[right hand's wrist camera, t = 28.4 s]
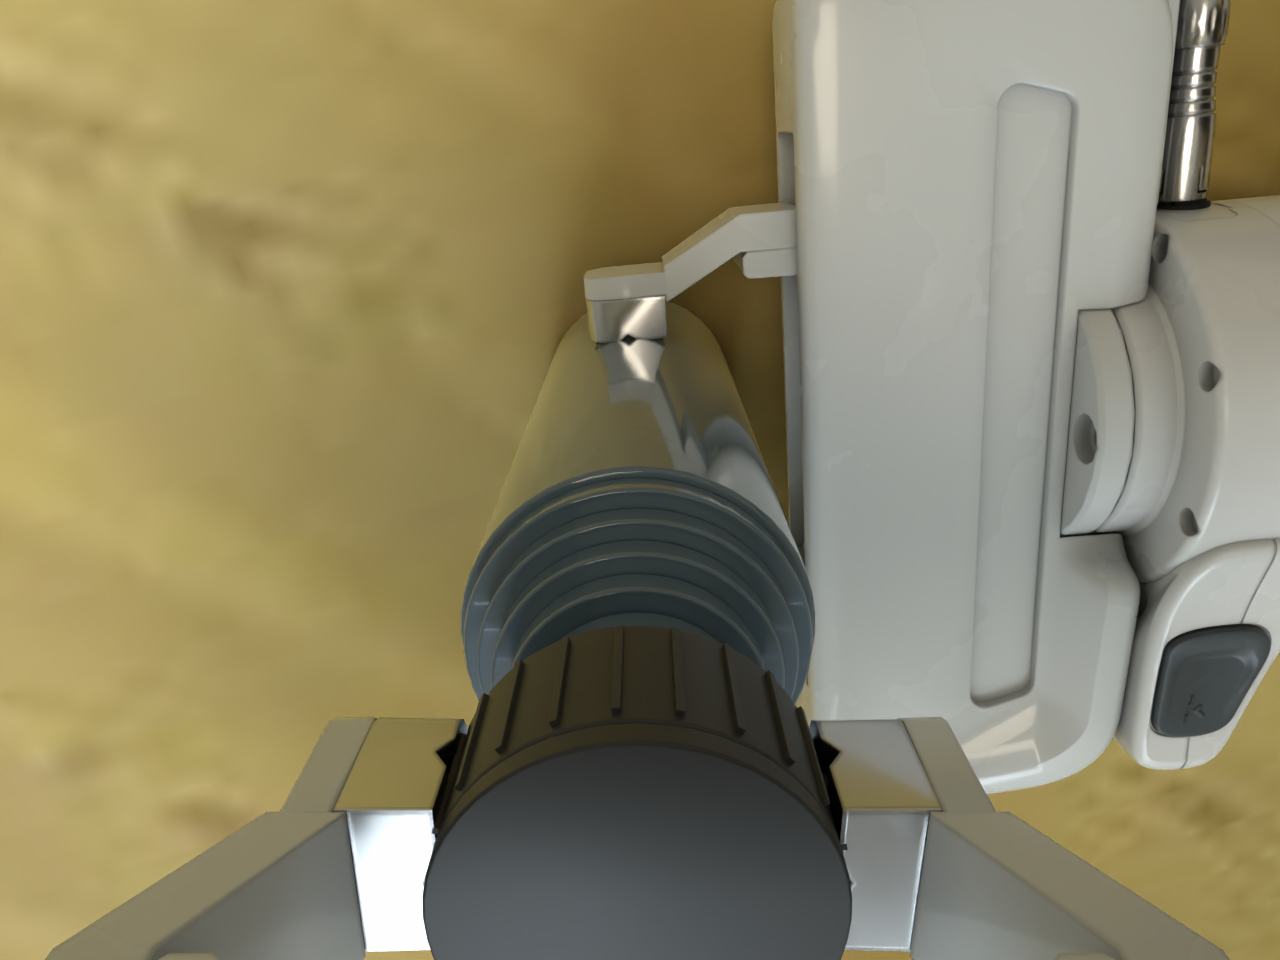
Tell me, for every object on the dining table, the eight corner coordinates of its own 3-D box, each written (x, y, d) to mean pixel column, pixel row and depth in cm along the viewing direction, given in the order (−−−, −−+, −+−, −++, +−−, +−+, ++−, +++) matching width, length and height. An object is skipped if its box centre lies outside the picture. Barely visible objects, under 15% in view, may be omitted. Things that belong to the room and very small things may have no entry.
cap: (878, 831, 11) (929, 980, 9) (575, 962, 11) (563, 1126, 10) (712, 555, 9) (730, 661, 8) (384, 723, 10) (325, 857, 8)
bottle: (735, 458, 28) (901, 1022, 10) (564, 478, 28) (435, 1063, 10) (719, 284, 26) (890, 603, 8) (536, 307, 26) (321, 664, 8)
